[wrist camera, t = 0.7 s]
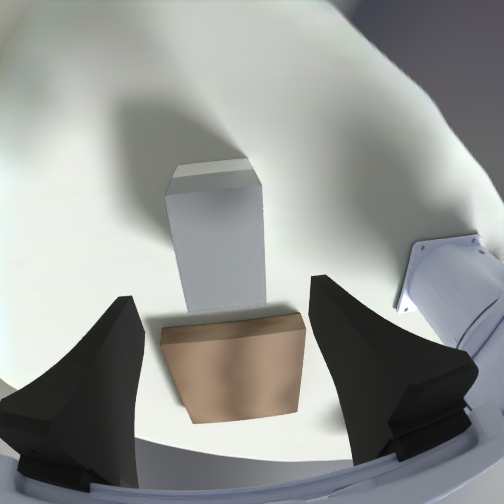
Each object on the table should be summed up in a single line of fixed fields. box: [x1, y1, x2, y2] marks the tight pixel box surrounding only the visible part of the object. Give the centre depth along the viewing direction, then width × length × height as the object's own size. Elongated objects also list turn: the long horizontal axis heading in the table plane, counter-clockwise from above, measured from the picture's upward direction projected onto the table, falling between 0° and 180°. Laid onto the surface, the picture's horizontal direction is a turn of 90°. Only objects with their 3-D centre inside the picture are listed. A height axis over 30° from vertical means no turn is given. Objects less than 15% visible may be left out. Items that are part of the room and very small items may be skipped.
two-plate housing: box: [165, 158, 266, 313], centre depth 18 cm, size 4×7×6 cm, turn 3°
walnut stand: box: [160, 313, 306, 424], centre depth 28 cm, size 12×14×2 cm
